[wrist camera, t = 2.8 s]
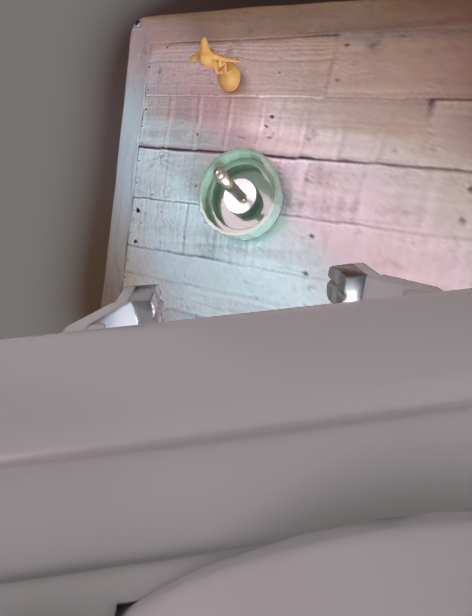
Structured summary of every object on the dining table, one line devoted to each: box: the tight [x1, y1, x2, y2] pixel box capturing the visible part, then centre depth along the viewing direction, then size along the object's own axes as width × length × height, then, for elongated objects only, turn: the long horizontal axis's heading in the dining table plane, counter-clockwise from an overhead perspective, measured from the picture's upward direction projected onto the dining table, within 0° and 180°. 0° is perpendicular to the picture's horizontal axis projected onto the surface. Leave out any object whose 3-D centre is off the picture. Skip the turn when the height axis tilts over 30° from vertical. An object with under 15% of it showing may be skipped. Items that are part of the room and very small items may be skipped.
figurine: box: [190, 37, 241, 92], centre depth 43 cm, size 8×6×12 cm
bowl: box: [198, 148, 283, 240], centre depth 47 cm, size 14×14×5 cm
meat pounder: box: [213, 167, 260, 218], centre depth 43 cm, size 6×6×14 cm
